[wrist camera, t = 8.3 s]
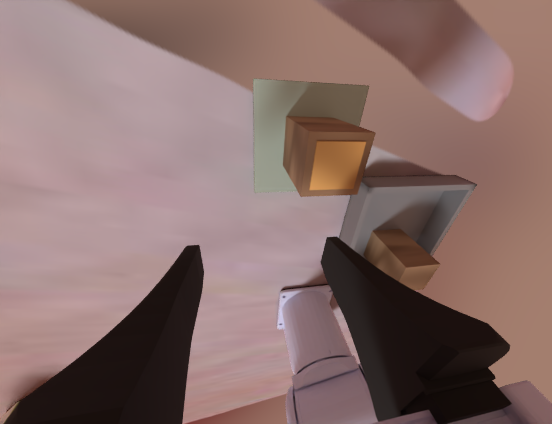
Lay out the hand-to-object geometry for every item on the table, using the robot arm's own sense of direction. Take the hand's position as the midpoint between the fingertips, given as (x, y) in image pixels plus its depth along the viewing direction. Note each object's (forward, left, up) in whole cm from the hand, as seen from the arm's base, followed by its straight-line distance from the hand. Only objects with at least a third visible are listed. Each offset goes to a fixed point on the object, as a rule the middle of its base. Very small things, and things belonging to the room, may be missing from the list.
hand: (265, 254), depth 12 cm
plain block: (-8, -17, -9) cm, 21 cm away
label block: (+4, -5, -9) cm, 11 cm away
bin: (-6, -17, -9) cm, 20 cm away
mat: (+4, -5, -9) cm, 11 cm away
